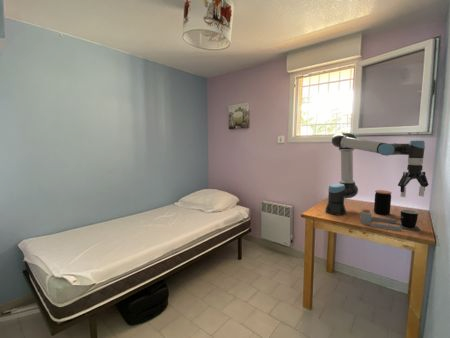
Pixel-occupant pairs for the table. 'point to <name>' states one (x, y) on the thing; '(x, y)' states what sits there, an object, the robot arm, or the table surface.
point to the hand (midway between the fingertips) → (412, 196)
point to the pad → (410, 228)
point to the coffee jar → (382, 202)
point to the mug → (409, 218)
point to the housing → (367, 219)
